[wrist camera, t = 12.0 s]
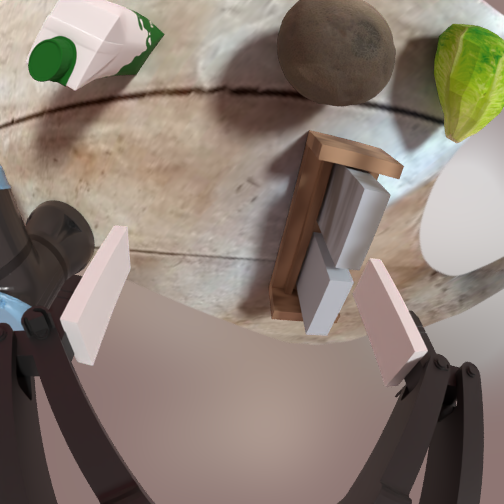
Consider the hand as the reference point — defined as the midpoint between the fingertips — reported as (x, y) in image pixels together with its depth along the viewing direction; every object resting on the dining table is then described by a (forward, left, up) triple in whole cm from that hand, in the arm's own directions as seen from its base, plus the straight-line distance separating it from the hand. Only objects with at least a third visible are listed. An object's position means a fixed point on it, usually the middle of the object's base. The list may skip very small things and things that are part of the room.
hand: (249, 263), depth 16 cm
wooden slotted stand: (+15, -13, -31) cm, 37 cm away
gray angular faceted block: (+15, -19, -29) cm, 38 cm away
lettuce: (+30, +18, -31) cm, 47 cm away
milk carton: (-18, +12, -31) cm, 38 cm away
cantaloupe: (+8, +14, -31) cm, 35 cm away
